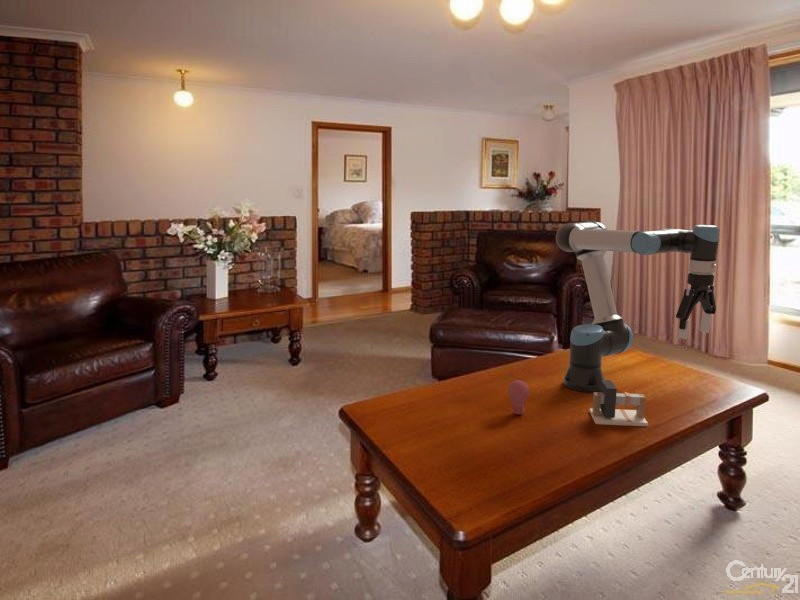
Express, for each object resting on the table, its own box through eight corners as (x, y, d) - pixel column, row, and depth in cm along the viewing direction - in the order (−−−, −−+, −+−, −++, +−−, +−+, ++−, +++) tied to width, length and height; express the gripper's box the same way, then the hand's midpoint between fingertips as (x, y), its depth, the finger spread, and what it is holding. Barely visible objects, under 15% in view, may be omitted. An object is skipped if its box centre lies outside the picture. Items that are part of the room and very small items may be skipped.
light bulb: (504, 410, 183) (505, 377, 181) (524, 409, 184) (525, 376, 181) (510, 418, 176) (511, 385, 174) (531, 417, 177) (532, 384, 174)
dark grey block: (605, 417, 172) (606, 388, 170) (599, 407, 179) (601, 379, 177) (614, 417, 171) (616, 388, 169) (608, 407, 179) (610, 380, 177)
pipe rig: (595, 424, 171) (597, 398, 170) (589, 411, 181) (590, 387, 179) (647, 426, 169) (649, 400, 167) (638, 413, 179) (640, 389, 177)
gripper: (691, 278, 163) (684, 344, 168) (732, 270, 176) (724, 331, 181) (668, 274, 169) (661, 338, 174) (709, 267, 182) (702, 326, 187)
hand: (693, 335), depth 177 cm, fingers open, 13 cm apart
